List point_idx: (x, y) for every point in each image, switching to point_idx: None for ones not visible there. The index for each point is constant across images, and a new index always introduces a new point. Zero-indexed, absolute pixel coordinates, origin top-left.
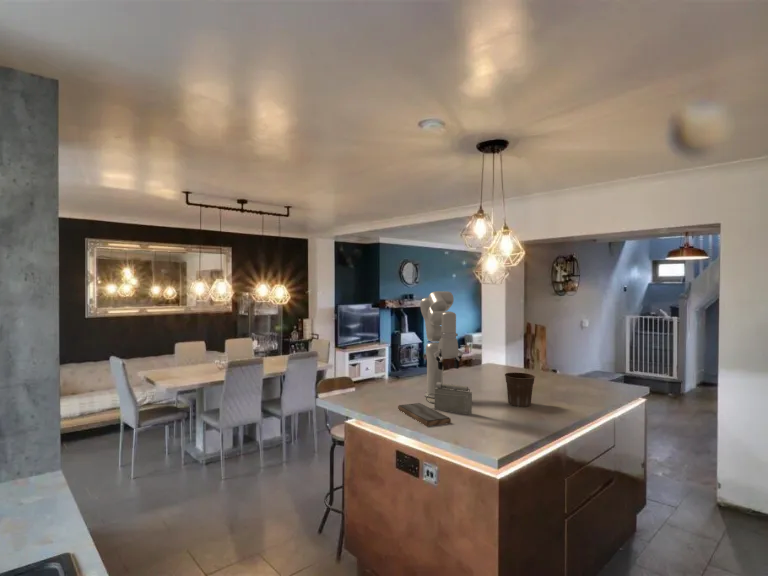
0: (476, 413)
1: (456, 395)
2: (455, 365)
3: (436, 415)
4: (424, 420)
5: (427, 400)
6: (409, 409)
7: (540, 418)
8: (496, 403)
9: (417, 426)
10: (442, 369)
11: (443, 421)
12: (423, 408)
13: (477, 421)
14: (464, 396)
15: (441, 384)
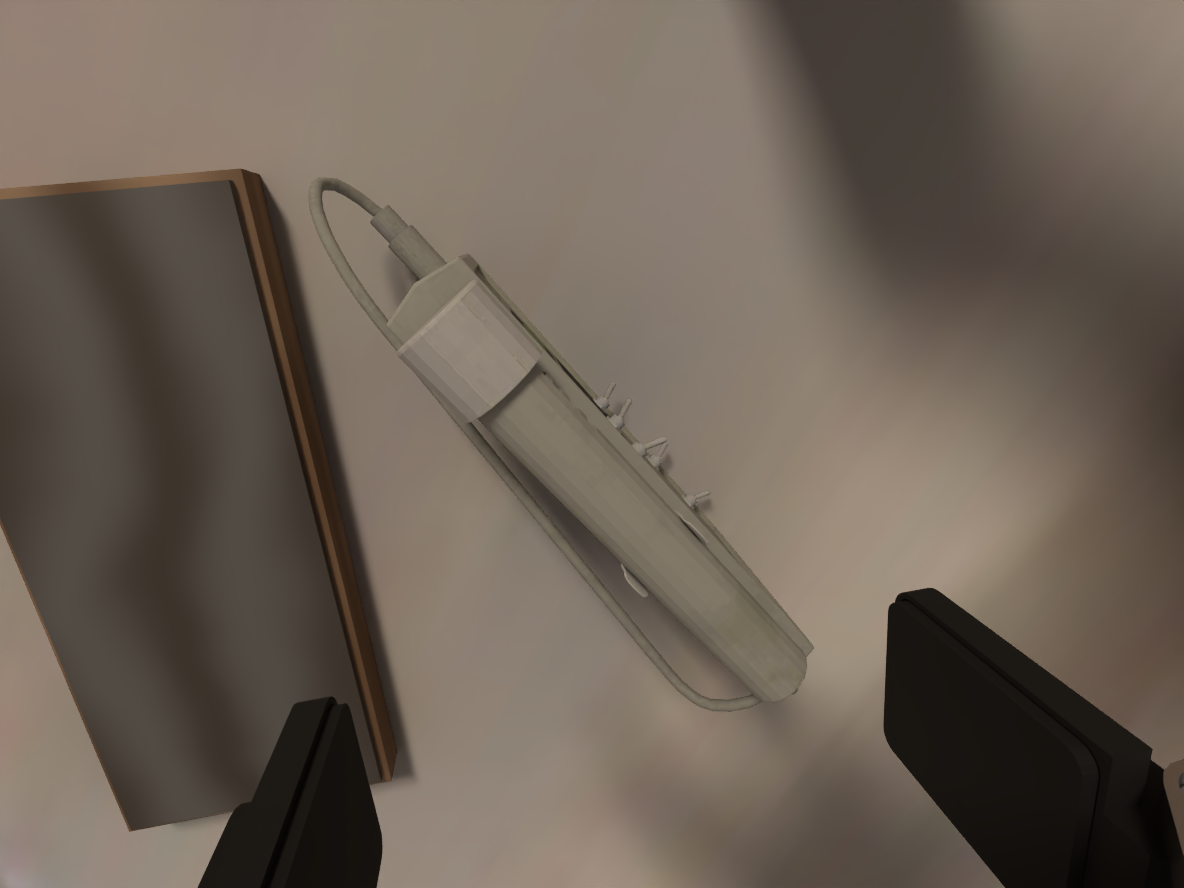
0: (756, 547)
1: (607, 606)
2: (939, 716)
3: (278, 709)
4: (116, 798)
5: (342, 192)
6: (6, 456)
7: None
8: (1150, 277)
9: (61, 788)
10: (379, 844)
11: None
12: (208, 452)
13: (635, 740)
14: (672, 679)
15: (485, 416)
